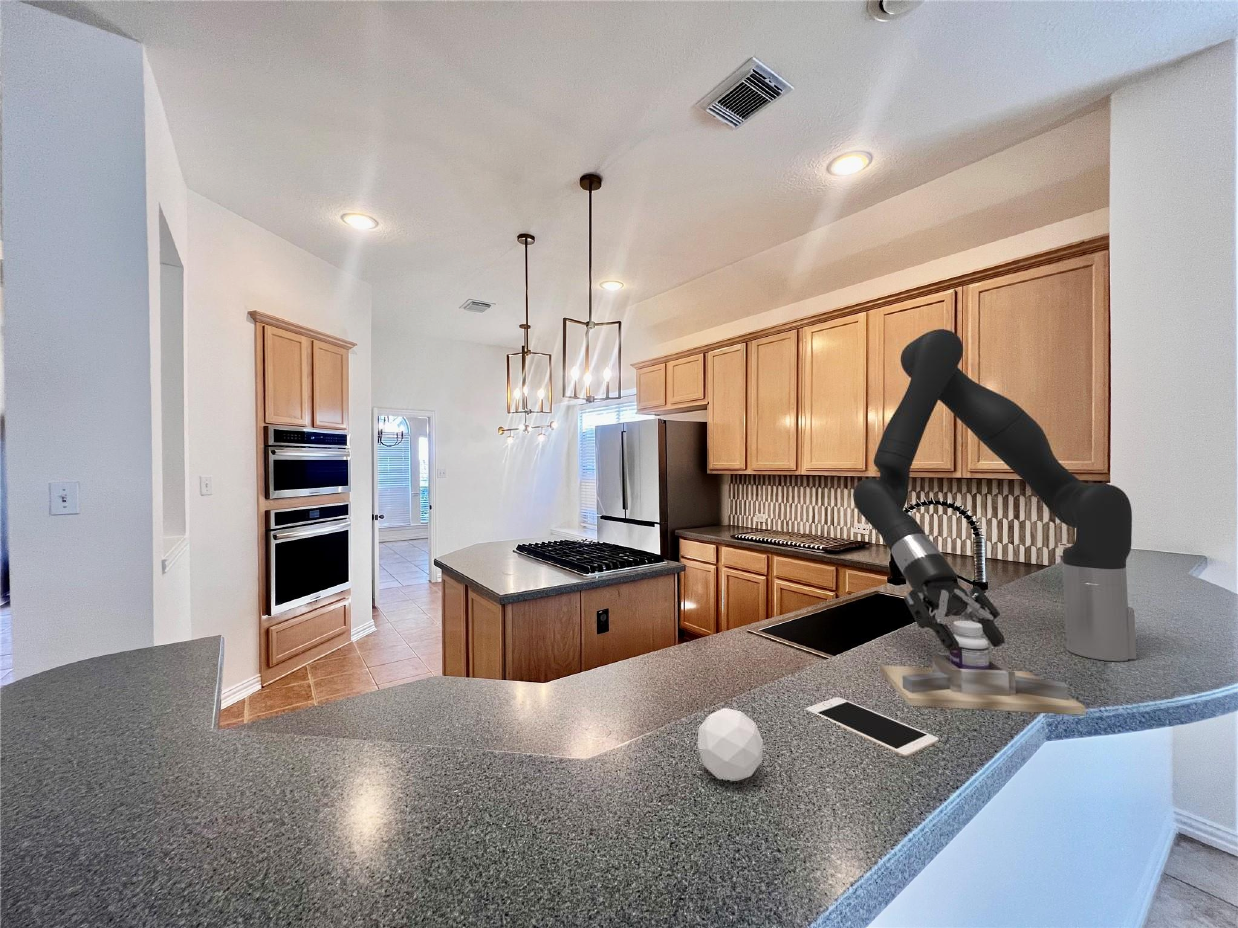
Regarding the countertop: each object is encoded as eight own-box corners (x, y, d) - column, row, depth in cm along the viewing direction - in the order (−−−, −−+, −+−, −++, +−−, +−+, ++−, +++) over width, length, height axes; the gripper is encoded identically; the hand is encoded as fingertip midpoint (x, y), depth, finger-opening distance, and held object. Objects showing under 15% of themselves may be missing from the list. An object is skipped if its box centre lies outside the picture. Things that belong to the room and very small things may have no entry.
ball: (733, 788, 65) (754, 723, 69) (761, 800, 58) (783, 728, 61) (679, 758, 65) (702, 695, 69) (700, 767, 58) (725, 696, 62)
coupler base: (1028, 678, 91) (1027, 651, 91) (1085, 714, 77) (1084, 682, 77) (880, 672, 95) (879, 646, 95) (909, 705, 81) (908, 674, 81)
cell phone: (837, 700, 85) (837, 696, 85) (940, 742, 71) (940, 737, 71) (804, 712, 81) (804, 708, 81) (905, 759, 67) (905, 754, 67)
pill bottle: (947, 675, 90) (945, 618, 90) (985, 679, 88) (982, 620, 88) (954, 687, 85) (952, 626, 85) (994, 691, 83) (991, 629, 83)
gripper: (897, 553, 93) (951, 638, 81) (967, 550, 95) (1029, 631, 84) (878, 578, 98) (927, 661, 86) (945, 574, 100) (1001, 654, 89)
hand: (977, 646), depth 85 cm, fingers open, 8 cm apart
